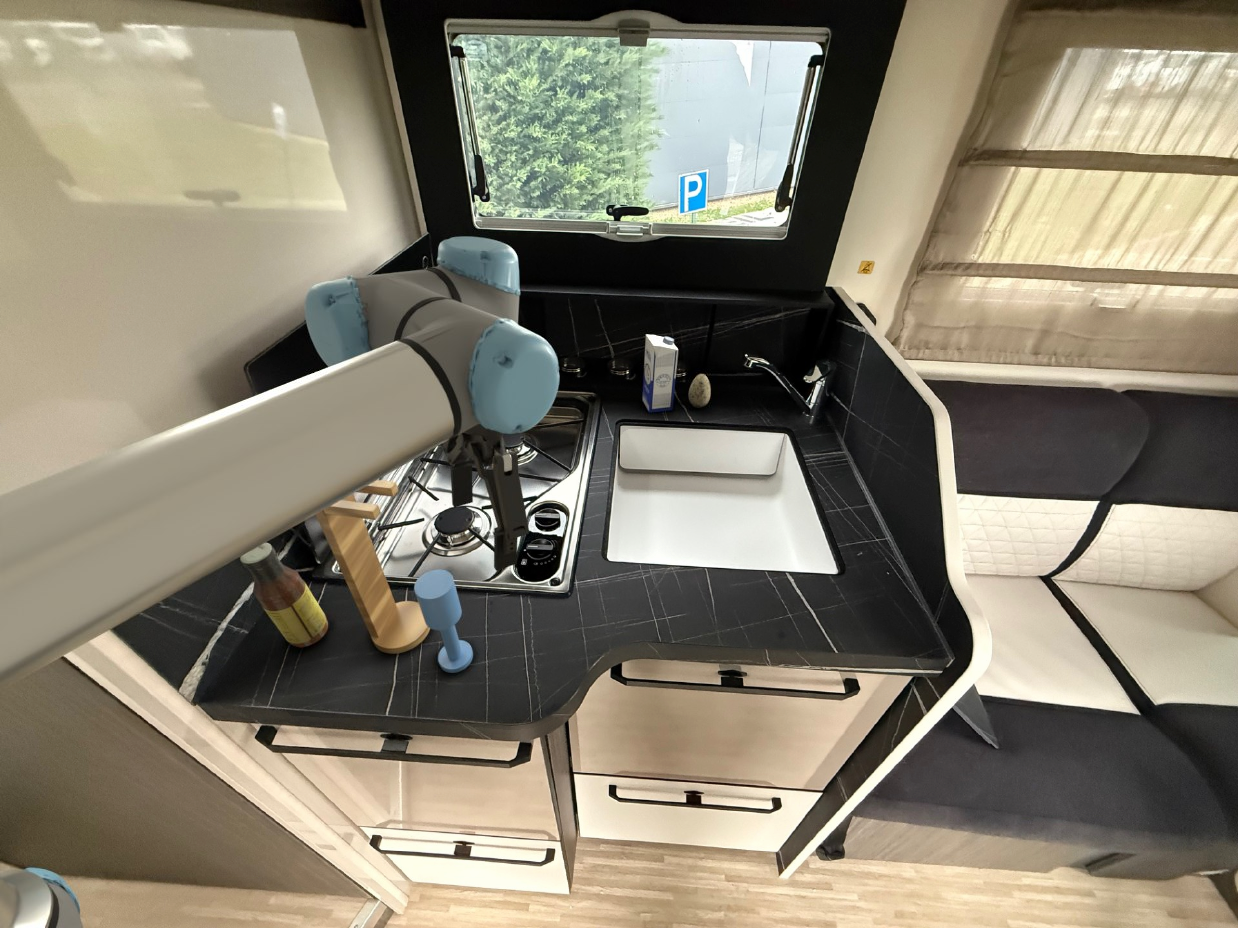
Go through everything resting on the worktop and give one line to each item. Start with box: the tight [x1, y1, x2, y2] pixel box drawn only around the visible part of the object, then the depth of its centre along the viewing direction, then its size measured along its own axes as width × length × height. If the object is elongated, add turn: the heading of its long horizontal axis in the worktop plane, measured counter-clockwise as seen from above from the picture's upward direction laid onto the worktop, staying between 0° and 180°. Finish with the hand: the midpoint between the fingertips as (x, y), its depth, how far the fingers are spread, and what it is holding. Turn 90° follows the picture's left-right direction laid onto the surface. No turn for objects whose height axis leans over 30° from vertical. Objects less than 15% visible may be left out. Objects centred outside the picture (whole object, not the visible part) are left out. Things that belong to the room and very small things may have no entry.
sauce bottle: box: [239, 542, 329, 648], centre depth 79 cm, size 7×6×20 cm
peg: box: [413, 568, 474, 674], centre depth 77 cm, size 5×5×18 cm
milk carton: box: [641, 334, 679, 414], centre depth 139 cm, size 7×7×20 cm
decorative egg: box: [688, 373, 712, 409], centre depth 142 cm, size 6×6×10 cm
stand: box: [314, 479, 431, 655], centre depth 77 cm, size 10×9×30 cm
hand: (482, 532), depth 69 cm, fingers open, 13 cm apart
